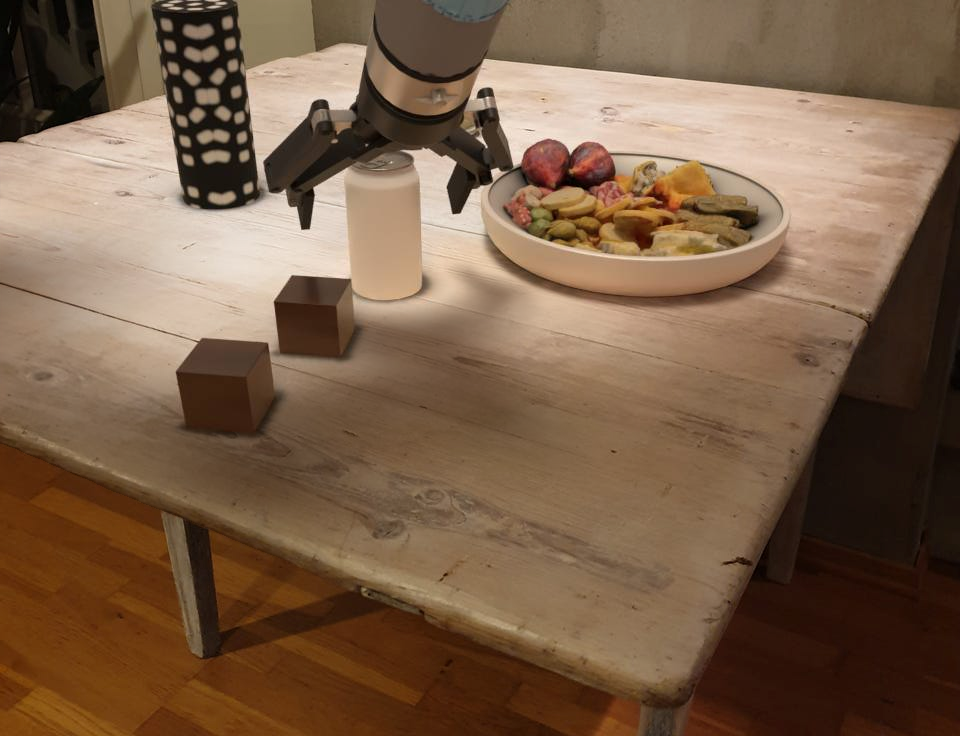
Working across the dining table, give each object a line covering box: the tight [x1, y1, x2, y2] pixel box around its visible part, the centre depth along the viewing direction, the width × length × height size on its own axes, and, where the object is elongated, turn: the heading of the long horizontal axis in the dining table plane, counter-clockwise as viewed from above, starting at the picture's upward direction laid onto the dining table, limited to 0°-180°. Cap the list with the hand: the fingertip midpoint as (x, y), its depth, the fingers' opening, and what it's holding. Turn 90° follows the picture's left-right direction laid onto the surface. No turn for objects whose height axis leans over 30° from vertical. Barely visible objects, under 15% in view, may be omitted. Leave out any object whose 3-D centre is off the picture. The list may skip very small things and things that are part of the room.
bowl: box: [480, 138, 792, 298], centre depth 96 cm, size 30×30×8 cm
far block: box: [273, 274, 356, 359], centre depth 78 cm, size 5×5×5 cm
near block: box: [175, 337, 276, 434], centre depth 69 cm, size 5×5×5 cm
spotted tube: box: [150, 0, 261, 211], centre depth 102 cm, size 8×8×20 cm
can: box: [344, 150, 423, 301], centre depth 85 cm, size 6×6×12 cm
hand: (379, 207), depth 86 cm, fingers open, 13 cm apart
